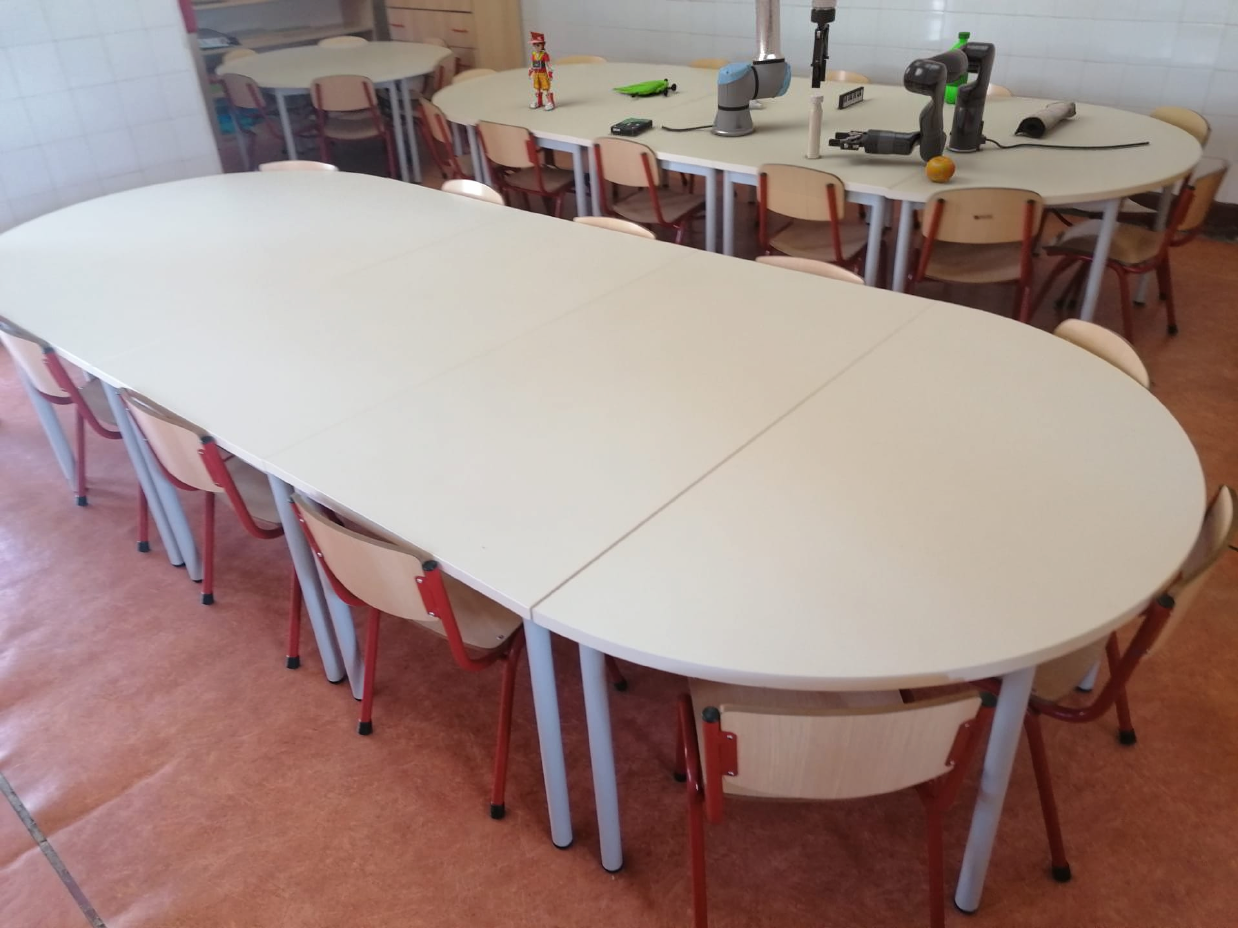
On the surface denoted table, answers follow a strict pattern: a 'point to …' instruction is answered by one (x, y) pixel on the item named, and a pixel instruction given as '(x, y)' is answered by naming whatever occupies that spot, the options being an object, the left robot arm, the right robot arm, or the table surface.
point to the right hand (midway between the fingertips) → (832, 139)
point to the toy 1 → (541, 71)
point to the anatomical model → (754, 104)
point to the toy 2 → (648, 88)
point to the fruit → (940, 169)
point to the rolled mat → (1046, 118)
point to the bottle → (814, 131)
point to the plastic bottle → (953, 87)
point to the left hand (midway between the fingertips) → (818, 84)
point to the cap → (817, 98)
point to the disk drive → (631, 126)
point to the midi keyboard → (850, 97)
